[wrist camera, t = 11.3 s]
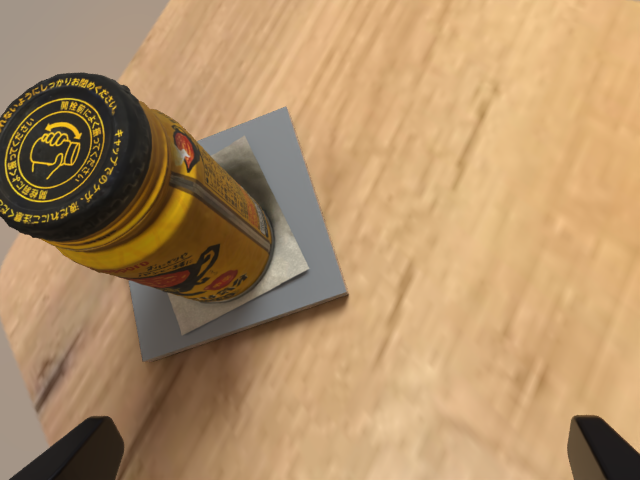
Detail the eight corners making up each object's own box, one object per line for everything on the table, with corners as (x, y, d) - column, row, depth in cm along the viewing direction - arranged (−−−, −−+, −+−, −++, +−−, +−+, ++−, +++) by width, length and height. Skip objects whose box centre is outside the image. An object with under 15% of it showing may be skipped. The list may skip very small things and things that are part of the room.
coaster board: (349, 294, 23) (346, 291, 23) (150, 361, 25) (142, 361, 24) (289, 113, 27) (286, 106, 26) (118, 180, 28) (110, 174, 27)
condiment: (183, 336, 24) (-29, 305, 12) (134, 199, 26) (-78, 72, 15) (310, 269, 23) (210, 174, 12) (246, 138, 26) (116, -41, 15)
